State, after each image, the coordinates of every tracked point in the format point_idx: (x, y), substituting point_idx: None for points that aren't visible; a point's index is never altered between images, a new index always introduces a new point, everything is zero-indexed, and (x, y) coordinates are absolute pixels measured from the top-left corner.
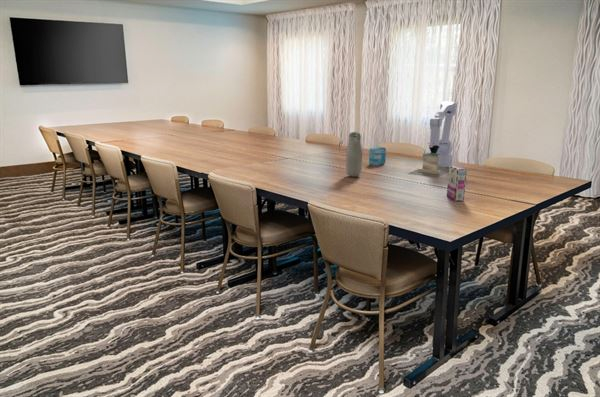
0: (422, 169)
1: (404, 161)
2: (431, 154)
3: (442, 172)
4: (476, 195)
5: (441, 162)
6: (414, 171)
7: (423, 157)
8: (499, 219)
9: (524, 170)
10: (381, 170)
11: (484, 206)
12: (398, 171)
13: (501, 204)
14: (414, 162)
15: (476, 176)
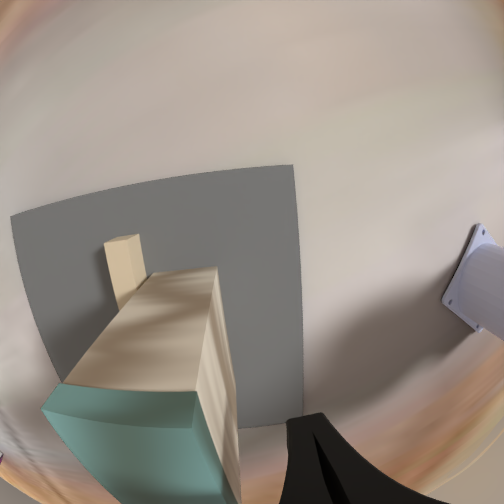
0: (117, 298)
1: (456, 8)
2: (124, 499)
3: (241, 410)
4: (46, 487)
5: (478, 301)
6: (105, 210)
7: (85, 364)
8: (5, 480)
9: (439, 475)
10: (60, 4)
11: (17, 480)
12: (69, 85)
13: (48, 501)
14: (479, 63)
15: (274, 497)
